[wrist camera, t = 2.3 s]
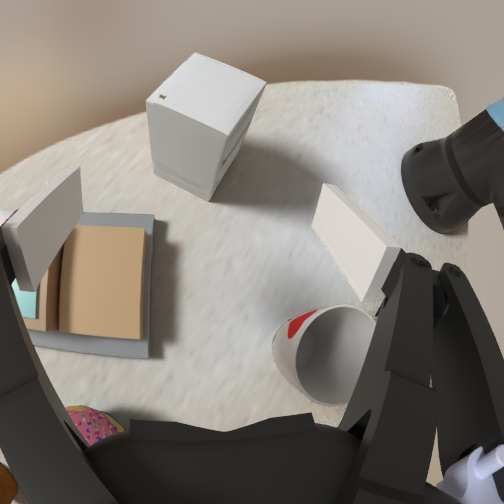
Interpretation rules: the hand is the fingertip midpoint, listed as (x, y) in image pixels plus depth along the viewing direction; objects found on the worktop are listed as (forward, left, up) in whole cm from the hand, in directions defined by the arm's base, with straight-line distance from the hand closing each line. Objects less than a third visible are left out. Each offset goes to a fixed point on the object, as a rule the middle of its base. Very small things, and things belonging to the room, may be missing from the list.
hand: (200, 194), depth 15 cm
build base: (+14, +3, -16) cm, 21 cm away
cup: (-11, +9, -16) cm, 21 cm away
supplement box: (0, -11, -16) cm, 19 cm away
